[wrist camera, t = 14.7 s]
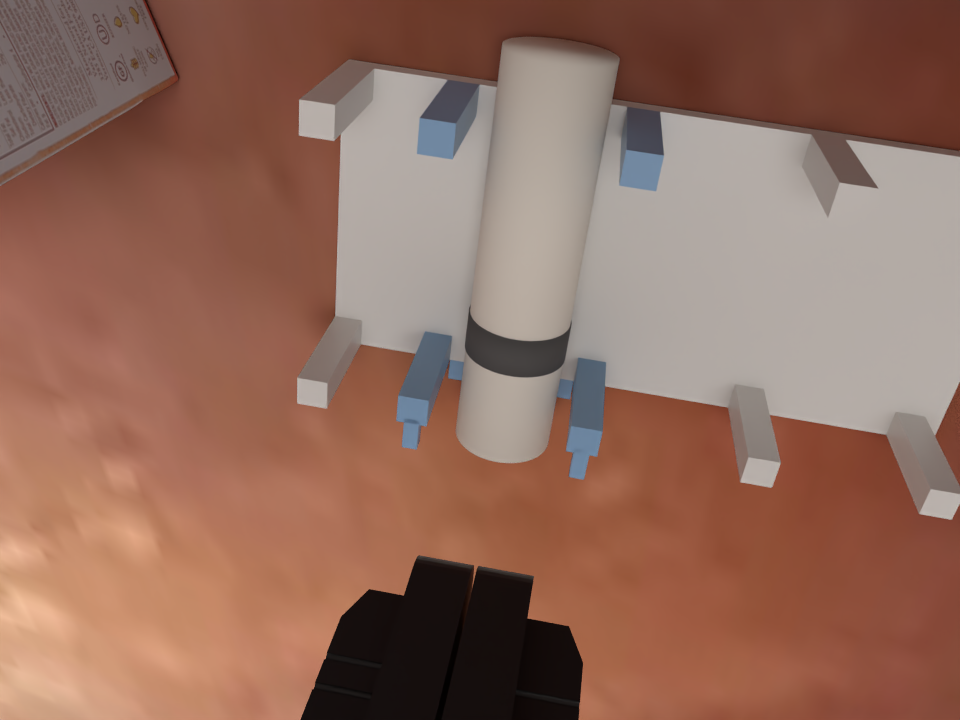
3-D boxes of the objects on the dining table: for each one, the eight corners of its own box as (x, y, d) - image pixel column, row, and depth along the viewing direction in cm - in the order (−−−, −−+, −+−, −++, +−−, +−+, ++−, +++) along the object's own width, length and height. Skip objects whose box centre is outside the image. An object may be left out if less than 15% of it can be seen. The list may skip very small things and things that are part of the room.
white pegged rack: (1047, 164, 33) (1124, 226, 28) (916, 453, 40) (958, 547, 34) (348, 59, 35) (299, 99, 29) (338, 353, 41) (297, 428, 36)
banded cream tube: (504, 30, 32) (496, 55, 29) (618, 46, 32) (624, 73, 29) (460, 401, 41) (449, 455, 37) (550, 414, 40) (548, 470, 37)
